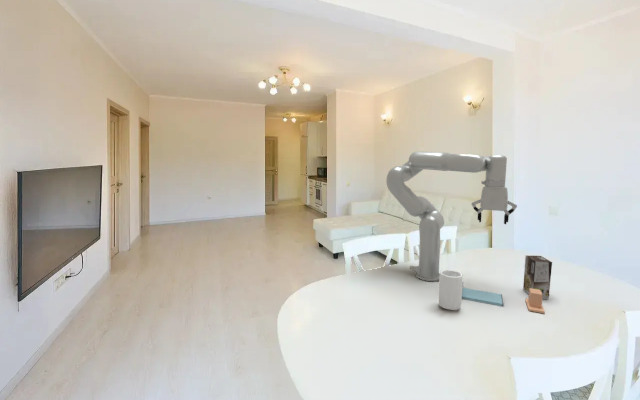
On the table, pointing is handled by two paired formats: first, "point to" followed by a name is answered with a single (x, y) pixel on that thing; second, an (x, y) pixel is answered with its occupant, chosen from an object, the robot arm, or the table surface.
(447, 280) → the cup
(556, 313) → the table surface
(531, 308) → the tan stepped block
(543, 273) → the coffee box
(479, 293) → the gray-edged light blue slab
